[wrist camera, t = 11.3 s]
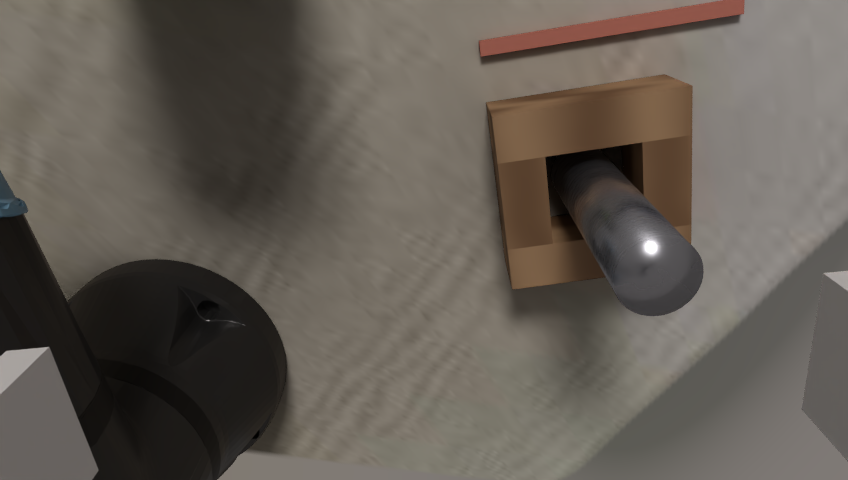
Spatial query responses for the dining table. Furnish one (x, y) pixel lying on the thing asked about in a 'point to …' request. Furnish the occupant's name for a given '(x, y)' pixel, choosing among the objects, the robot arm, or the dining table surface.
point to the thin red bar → (611, 27)
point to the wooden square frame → (581, 131)
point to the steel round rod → (627, 235)
